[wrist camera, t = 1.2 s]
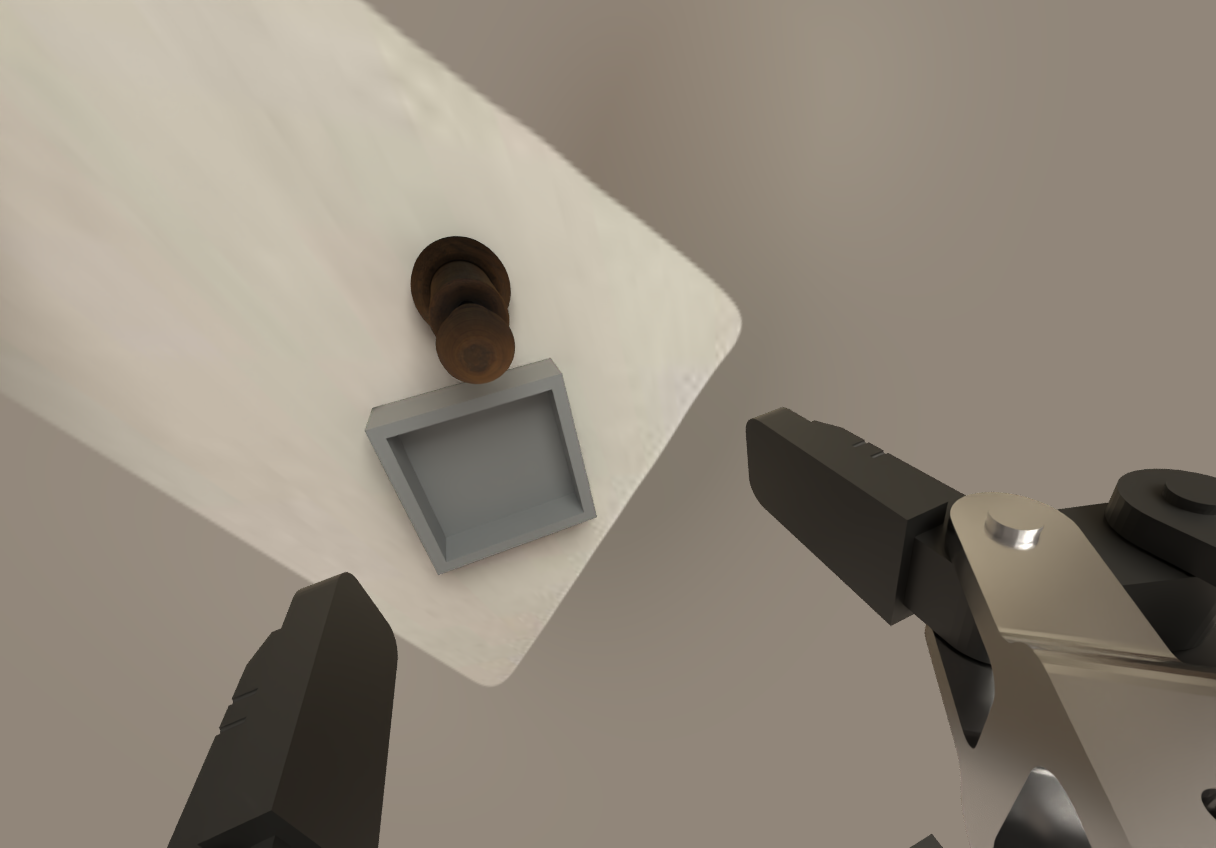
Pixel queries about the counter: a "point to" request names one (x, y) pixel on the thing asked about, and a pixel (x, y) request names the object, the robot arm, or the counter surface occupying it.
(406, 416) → the tray
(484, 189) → the counter surface
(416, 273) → the turned wooden knob
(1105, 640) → the robot arm
